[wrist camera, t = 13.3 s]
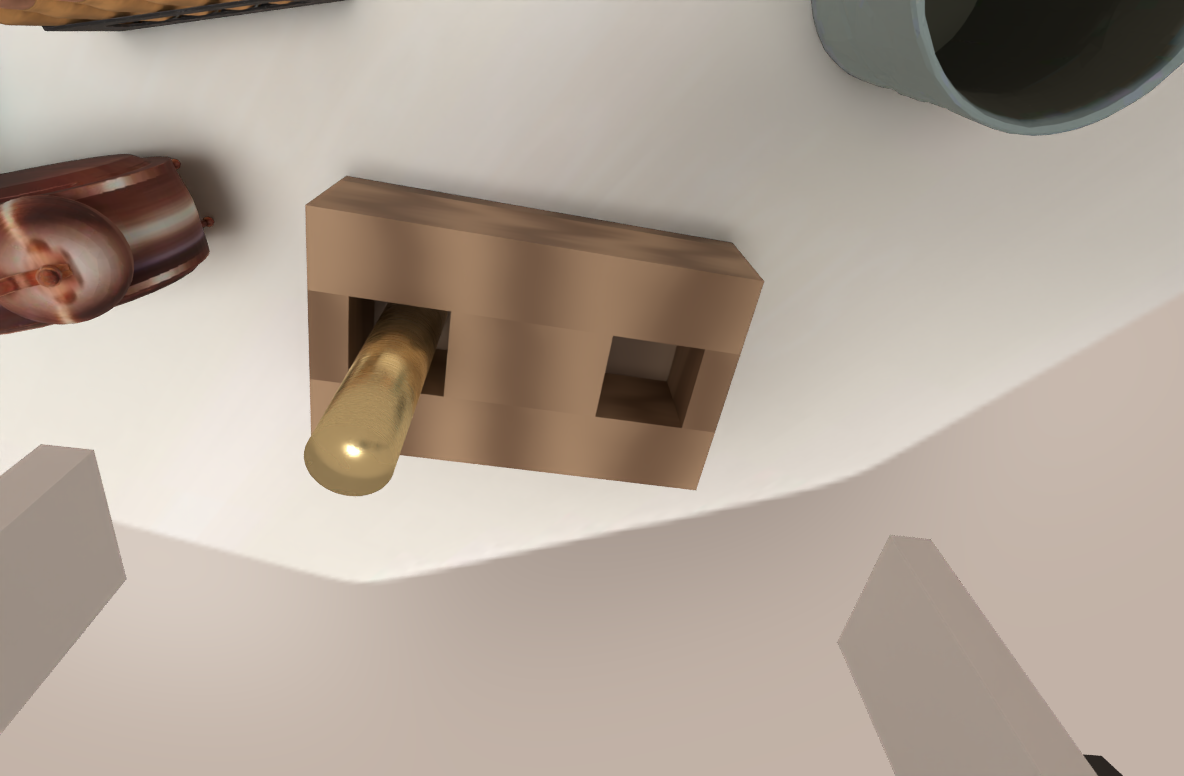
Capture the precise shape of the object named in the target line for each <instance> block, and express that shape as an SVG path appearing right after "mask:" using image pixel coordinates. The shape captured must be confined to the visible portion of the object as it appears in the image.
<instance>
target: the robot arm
mask: <svg viewBox="0 0 1184 776" xmlns="http://www.w3.org/2000/svg"><path fill="white" fill-rule="evenodd" d="M125 580H126V575H125V571H124V567H123V563H122V559H121V556H120V552H119V548H118V544H117V540H116V536H115V532H114V528H113V524H112V520H111V516H110V512H109V508H108V504H107V500H106V496H105V492H104V488H103V484H102V480H101V476H100V473H99V469H98V465H97V461H96V457H95V453H94V450H89V449H80V448H71V447H61V446H52V445H43V444H41V445H39V446H38V447H37V448H36V449H34V450H33V451H32V452H30V453H29V454H28V455H27V456H25V457H24V458H23V459H21V460H20V461H19V462H18V463H16V464H15V465H14V466H13V467H11V468H10V469H9V470H7V471H6V472H5V473H4V474H2V475H1V476H0V734H1V733H2V732H3V731H4V730H5V728H6V727H7V726H8V725H9V723H10V722H11V721H12V720H13V718H14V717H15V716H16V715H17V714H18V712H19V711H20V710H21V709H22V707H23V706H24V705H25V704H26V702H27V701H28V700H29V699H30V698H31V696H32V695H33V694H34V692H35V691H36V690H37V689H38V688H39V686H40V685H41V684H42V683H43V681H44V680H45V679H46V678H47V677H48V675H49V674H50V673H51V672H52V670H53V669H54V668H55V667H56V665H57V664H58V663H59V662H60V661H61V659H62V658H63V657H64V656H65V654H66V653H67V652H68V651H69V649H70V648H71V647H72V646H73V645H74V643H75V642H76V641H77V640H78V638H79V637H80V636H81V635H82V633H83V632H84V631H85V630H86V628H87V627H88V626H89V625H90V624H91V622H92V621H93V620H94V619H95V617H96V616H97V615H98V614H99V612H100V611H101V610H102V609H103V607H104V606H105V605H106V604H107V603H108V601H109V600H110V599H111V598H112V596H113V595H114V594H115V593H116V591H117V590H118V589H119V588H120V586H121V585H122V584H123V583H124V582H125ZM837 643H838V645H839V647H840V649H841V652H842V654H843V656H844V659H845V661H846V663H847V666H848V668H849V670H850V672H851V675H852V677H853V679H854V682H855V684H856V686H857V688H858V691H859V693H860V695H861V698H862V700H863V702H864V704H865V707H866V709H867V712H868V714H869V716H870V718H871V721H872V723H873V725H874V728H875V730H876V732H877V735H878V737H879V739H880V741H881V744H882V746H883V748H884V750H885V753H886V755H887V757H888V760H889V762H890V764H891V767H892V769H893V771H894V774H895V776H1123V775H1122V774H1120V773H1119V772H1118V771H1117V770H1116V769H1115V768H1114V767H1113V766H1112V765H1111V764H1110V763H1109V762H1108V761H1106V760H1105V759H1104V758H1103V757H1102V756H1096V755H1083V754H1082V753H1081V751H1080V750H1079V748H1078V747H1077V746H1076V745H1075V743H1074V741H1073V740H1072V739H1071V737H1070V736H1069V734H1068V733H1067V731H1066V730H1065V729H1064V727H1063V726H1062V725H1061V723H1060V722H1059V720H1058V719H1057V717H1056V716H1055V715H1054V713H1053V712H1052V710H1051V709H1050V707H1049V706H1048V705H1047V703H1046V702H1045V700H1044V699H1043V698H1042V696H1041V695H1040V693H1039V692H1038V690H1037V689H1036V688H1035V686H1034V685H1033V683H1032V682H1031V681H1030V679H1029V678H1028V677H1027V675H1026V674H1025V672H1024V671H1023V669H1022V668H1021V666H1020V665H1019V664H1018V662H1017V661H1016V659H1015V658H1014V656H1013V655H1012V654H1011V652H1010V651H1009V649H1008V648H1007V647H1006V646H1005V644H1004V642H1003V641H1002V640H1001V638H1000V637H999V636H998V634H997V633H996V631H995V630H994V628H993V627H992V625H991V624H990V623H989V621H988V620H987V618H986V617H985V615H984V614H983V613H982V611H981V610H980V608H979V607H978V605H977V604H976V603H975V601H974V600H973V598H972V597H971V596H970V594H969V593H968V591H967V590H966V588H965V587H964V586H963V584H962V583H961V581H960V580H959V579H958V577H957V576H956V575H955V573H954V572H953V570H952V569H951V567H950V566H949V564H948V563H947V562H946V560H945V559H944V557H943V556H942V555H941V553H940V552H939V550H938V549H937V547H936V546H935V545H934V543H933V542H932V541H931V539H923V538H914V537H905V536H895V535H890V536H889V538H888V540H887V542H886V544H885V546H884V548H883V550H882V552H881V554H880V556H879V558H878V560H877V562H876V564H875V566H874V568H873V571H872V572H871V574H870V576H869V578H868V581H867V583H866V585H865V587H864V589H863V591H862V593H861V595H860V597H859V599H858V601H857V603H856V605H855V607H854V609H853V611H852V613H851V615H850V617H849V619H848V621H847V623H846V626H845V627H844V629H843V632H842V634H841V636H840V638H839V640H838V642H837Z"/></svg>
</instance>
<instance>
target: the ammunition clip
mask: <svg viewBox="0 0 1184 776" xmlns="http://www.w3.org/2000/svg"><path fill="white" fill-rule="evenodd" d="M336 1H343V0H0V24H4V25H26V26H42V27H43V29H44V30H45V31H126V30H134V29H141V28H148V27H155V26H162V25H170V24H177V23H184V22H191V21H199V20H206V19H213V18H220V17H228V16H235V15H242V14H249V13H257V12H264V11H271V10H278V9H285V8H293V7H300V6H307V5H314V4H322V3H329V2H336Z"/></svg>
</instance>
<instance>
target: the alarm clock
mask: <svg viewBox="0 0 1184 776" xmlns="http://www.w3.org/2000/svg"><path fill="white" fill-rule="evenodd" d="M180 165H181V163H180V162H179V161H178V160H177V159H172V160H171V158H169V157H147V158H140V157H137V156H134V155H130V154H119V155H108V156H101V157H93V158H86V159H80V160H74V161H68V162H62V163H57V164H51V165H45V166H40V167H34V168H29V169H24V170H19V171H14V172H9V173H4V174H0V335H1V334H9V333H15V332H20V331H25V330H30V329H36V328H41V327H45V326H49V325H53V324H75V323H80V322H84V321H88V320H91V319H93V318H96V317H98V316H100V315H102V314H104V313H106V312H107V311H109V310H110V309H112V308H113V307H115V306H118V305H121V304H124V303H127V302H130V301H133V300H135V299H138V298H140V297H143V296H145V295H148V294H150V293H153V292H155V291H157V290H159V289H161V288H164V287H166V286H168V285H170V284H172V283H174V282H176V281H178V280H179V279H181V278H183V277H184V276H186V275H187V274H189V273H190V272H192V271H193V270H194V269H195V268H196V267H197V266H198V264H200V263H201V262H203V261H204V260H205V259H206V257H207V256H208V255H209V252H210V251H209V247H208V243H207V240H206V237H205V234H204V230H203V227H205V226H207V227H211V226H213V225H214V220H213V219H212V218H210V217H205V218H204V219H203V220H200V218H199V214H198V211H197V209H196V206H195V204H194V201H193V199H192V197H191V195H190V193H189V191H188V190H187V188H186V186H185V184H184V183H183V181H182V179H181V177H180V176H179V174H178V172H177V170H176V169H178V168H180Z"/></svg>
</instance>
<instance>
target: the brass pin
mask: <svg viewBox="0 0 1184 776" xmlns="http://www.w3.org/2000/svg"><path fill="white" fill-rule="evenodd" d="M447 315H448V311H445V310H438V309H431V308H425V307H418V306H411V305H405V304H398V303H391V302H388V303H387V305H386V307H385V309H384V310H383V312H382V314H381V316H380V317H379V319H378V321H377V323H376V324H375V326H374V328H373V329H372V331H371V333H370V335H369V336H368V338H367V340H366V342H365V343H364V345H363V347H362V349H361V350H360V352H359V354H358V355H357V357H356V359H355V361H354V362H353V364H352V366H351V368H350V369H349V371H348V373H347V375H346V376H345V378H344V380H343V381H342V383H341V385H340V387H339V388H338V390H337V392H336V394H335V395H334V397H333V399H332V401H331V402H330V404H329V406H328V407H327V409H326V411H325V413H324V414H323V416H322V418H321V420H320V421H319V423H318V425H317V427H316V428H315V430H314V432H313V433H312V435H311V437H310V439H309V440H308V442H307V444H306V447H305V451H304V461H305V465H306V467H307V469H308V471H309V473H310V475H311V476H312V477H313V478H314V479H315V480H316V481H317V482H318V483H319V484H320V485H322V486H323V487H325V488H326V489H328V490H330V491H332V492H335V493H338V494H342V495H347V496H363V495H368V494H372V493H374V492H376V491H378V490H380V489H382V488H383V487H384V486H385V485H386V484H387V483H388V482H389V481H390V479H391V477H392V475H393V472H394V469H395V467H396V464H397V461H398V458H399V455H400V452H401V449H402V446H403V443H404V440H405V437H406V435H407V432H408V429H409V426H410V423H411V420H412V417H413V414H414V411H415V408H416V405H417V403H418V400H419V397H420V394H421V391H422V388H423V385H424V382H425V379H426V376H427V373H428V371H429V368H430V365H431V362H432V359H433V356H434V353H435V350H436V347H437V344H438V342H439V339H440V336H441V333H442V330H443V327H444V324H445V321H446V318H447Z"/></svg>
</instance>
